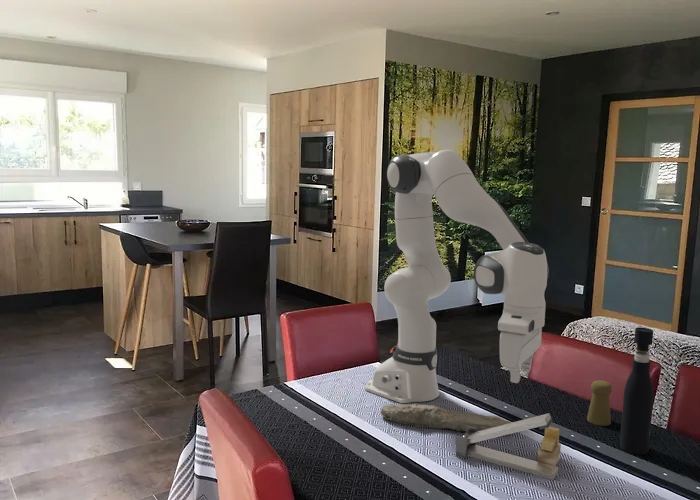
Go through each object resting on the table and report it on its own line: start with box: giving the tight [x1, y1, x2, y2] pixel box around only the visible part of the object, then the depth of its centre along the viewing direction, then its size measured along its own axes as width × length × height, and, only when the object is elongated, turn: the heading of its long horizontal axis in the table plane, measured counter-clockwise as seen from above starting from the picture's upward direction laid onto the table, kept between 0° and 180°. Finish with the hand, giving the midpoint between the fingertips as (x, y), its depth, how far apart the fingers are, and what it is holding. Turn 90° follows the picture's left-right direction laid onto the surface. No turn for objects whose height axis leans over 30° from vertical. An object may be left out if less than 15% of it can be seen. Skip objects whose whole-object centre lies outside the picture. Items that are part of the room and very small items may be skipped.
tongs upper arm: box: [461, 412, 554, 446], centre depth 136 cm, size 22×5×2 cm, turn 57°
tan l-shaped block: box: [540, 425, 560, 452], centre depth 136 cm, size 3×5×4 cm, turn 148°
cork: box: [586, 379, 613, 427], centre depth 159 cm, size 6×6×11 cm
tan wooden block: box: [537, 442, 562, 467], centre depth 137 cm, size 4×6×4 cm, turn 148°
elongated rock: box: [380, 403, 513, 436], centre depth 156 cm, size 35×5×10 cm
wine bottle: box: [619, 327, 655, 455], centre depth 142 cm, size 6×6×30 cm
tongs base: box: [455, 426, 559, 481], centre depth 136 cm, size 22×7×5 cm, turn 58°
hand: (520, 376), depth 133 cm, fingers open, 7 cm apart
